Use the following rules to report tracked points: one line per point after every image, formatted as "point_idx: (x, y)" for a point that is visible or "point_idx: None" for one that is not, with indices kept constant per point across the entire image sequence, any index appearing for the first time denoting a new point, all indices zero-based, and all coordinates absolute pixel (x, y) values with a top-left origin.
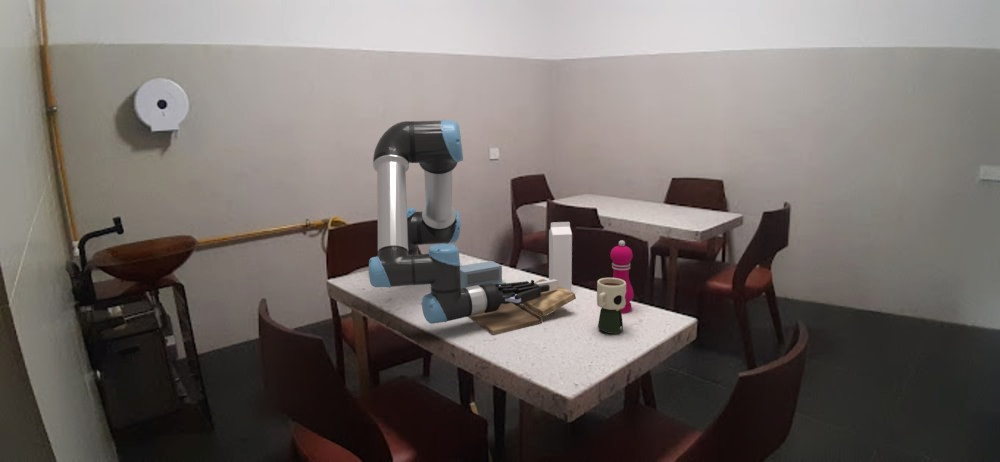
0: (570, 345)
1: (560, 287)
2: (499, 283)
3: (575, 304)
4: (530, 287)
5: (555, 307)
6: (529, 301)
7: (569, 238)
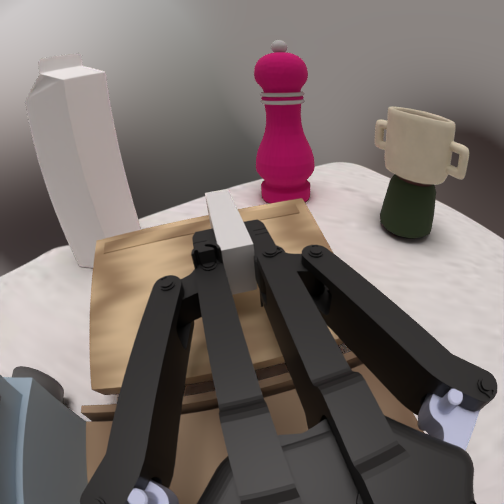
0: (498, 304)
1: None
2: (21, 411)
3: None
4: (297, 286)
5: None
6: None
7: (103, 84)
